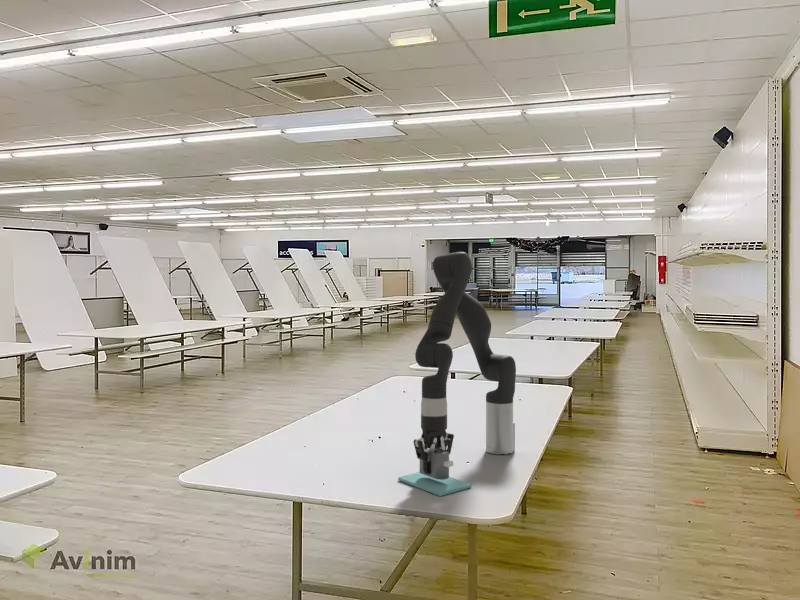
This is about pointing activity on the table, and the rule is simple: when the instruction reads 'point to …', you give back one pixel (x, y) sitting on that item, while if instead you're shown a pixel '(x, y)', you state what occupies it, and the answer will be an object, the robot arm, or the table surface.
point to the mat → (435, 483)
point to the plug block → (438, 464)
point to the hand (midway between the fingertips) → (434, 471)
